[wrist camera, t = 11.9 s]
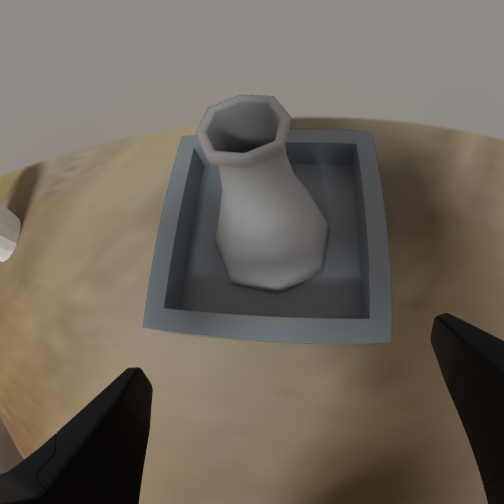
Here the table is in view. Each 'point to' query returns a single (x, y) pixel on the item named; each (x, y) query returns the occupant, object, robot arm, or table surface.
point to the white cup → (8, 232)
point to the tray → (301, 295)
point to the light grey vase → (261, 197)
